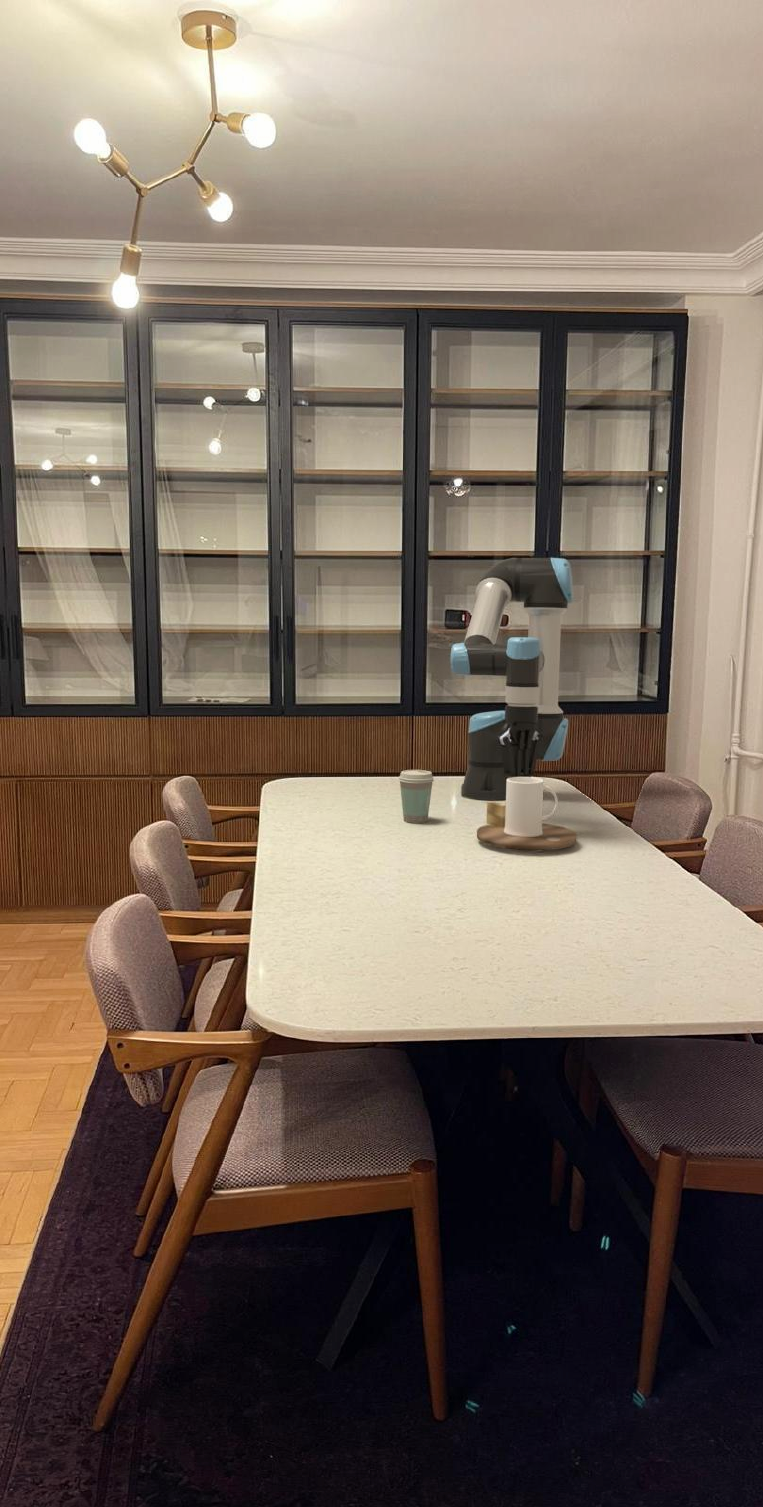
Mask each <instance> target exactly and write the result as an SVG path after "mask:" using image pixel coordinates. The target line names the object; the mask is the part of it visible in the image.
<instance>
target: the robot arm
mask: <svg viewBox="0 0 763 1507" xmlns="http://www.w3.org/2000/svg"><path fill="white" fill-rule="evenodd" d="M474 594H475V598H476V601H475V605H474V609H473V612H472V615H471V618H470V621H469V625H468V627H467V630H466V634H465V637H464V640H463V641H464V642H460V643H459V642H458V643H455V644H452V647H451V650H450V669H451V672H452V673H454V674H455V675H463V676H464V675H466V676H497V677H502V676H503V677H506V678H505V679H506V681H505V701H504V702H505V703H506V705H505V707H504V710H494V711H486V712H479V713H475V714H473V715H472V716H471V717H470V718H469V724H468V731H467V733H468V749H467V750H468V753H467V754H468V756H467V768H466V772H465V776H464V779H463V783H462V784H461V786H460V795H461V796H462V795H463V796H462V797H464V796H465V797H464V798H468V799H473V800H484V801H502V800H504V801H505V800H506V784H507V779H508V778H512V777H532V776H531V775H534V773H535V769H536V764H537V761H543V762H547V761H553V762H554V761H556V762H557V761H558V760H560V759H561V758H562V757H563V754H564V753H563V752H564V749H565V745H566V739H567V734H568V728H569V719H568V718H566V717H564V711H563V710H562V709H561V707H560V706H559V686H560V683H559V682H560V659H561V658H560V654H561V633H562V617H563V615H564V614H565V613H566V612H567V611H568V606H569V605H568V604H572V603H573V602H574V584H573V575H572V568H571V563H570V562H569V561H568V560H567V559H566V558H560V557H521V558H520V557H510V558H506V559H504V560H501V561H500V562H498V563H495V564H494V565H493V566H491V567H489V569H488V570H486V572H484V573H483V575H482V576H481V577H480V579H479V580H478V583H477V584H476V588H475V592H474ZM512 602H516V603H523V610H524V611H525V612H526V613H527V615H528V632H527V634H528V635H527V637H522V636H521V637H516V636H515V637H510V638H508V640H507V644H506V643H505V644H499V643H497V638H498V634H499V632H500V627H501V623H502V619H503V616H504V613H505V609H506V607H508V605H509V604H510V603H512Z"/></svg>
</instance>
